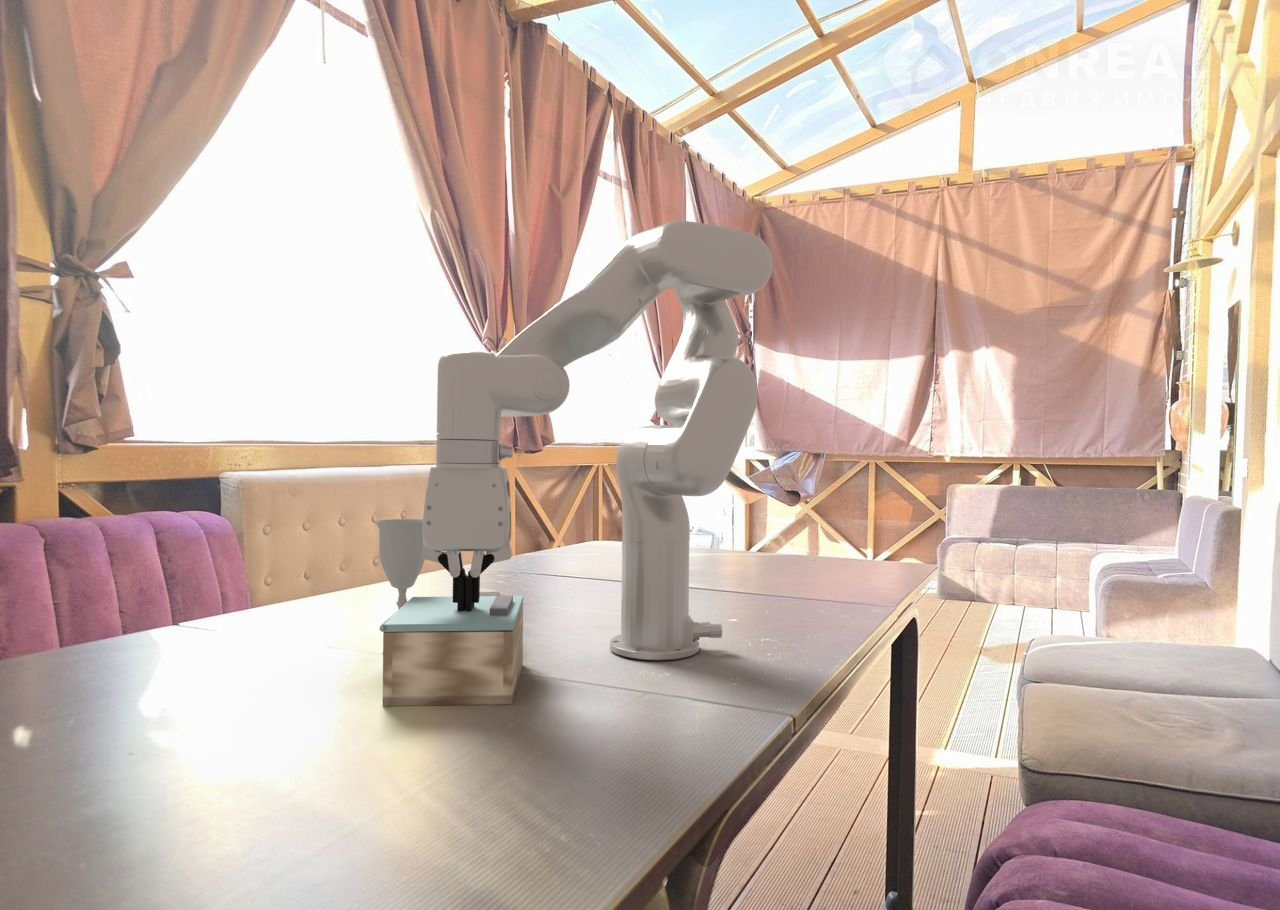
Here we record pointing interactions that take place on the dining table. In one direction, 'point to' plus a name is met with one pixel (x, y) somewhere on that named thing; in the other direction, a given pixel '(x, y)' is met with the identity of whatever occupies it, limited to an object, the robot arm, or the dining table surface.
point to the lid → (455, 615)
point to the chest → (452, 666)
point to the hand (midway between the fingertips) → (466, 608)
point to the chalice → (401, 553)
